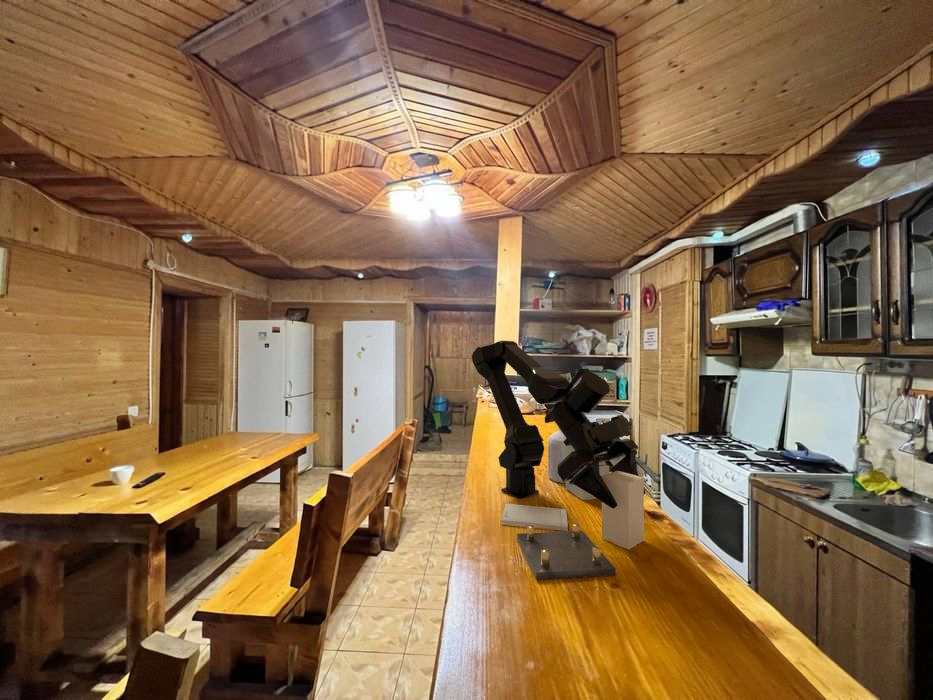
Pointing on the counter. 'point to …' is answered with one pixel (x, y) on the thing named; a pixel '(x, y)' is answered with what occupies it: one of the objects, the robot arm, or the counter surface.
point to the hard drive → (535, 517)
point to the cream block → (624, 510)
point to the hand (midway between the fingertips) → (630, 500)
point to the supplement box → (578, 491)
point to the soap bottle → (556, 454)
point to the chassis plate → (563, 554)
